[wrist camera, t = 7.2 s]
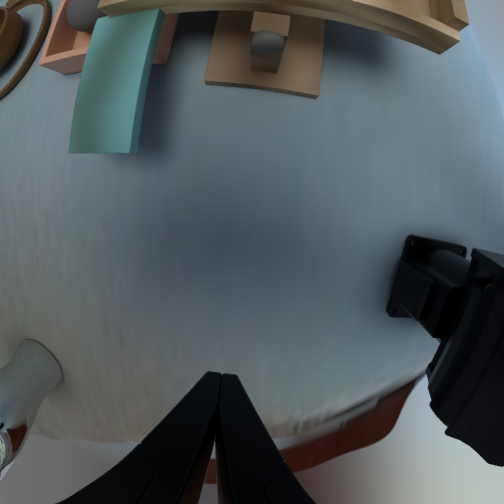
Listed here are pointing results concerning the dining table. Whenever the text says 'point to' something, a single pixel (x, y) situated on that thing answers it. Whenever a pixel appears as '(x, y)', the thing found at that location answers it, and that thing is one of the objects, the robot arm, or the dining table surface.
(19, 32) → the place setting
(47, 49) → the dish
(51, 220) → the dining table surface
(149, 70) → the lever
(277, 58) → the lever stand
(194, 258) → the dining table surface
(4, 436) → the beer glass
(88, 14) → the ball
